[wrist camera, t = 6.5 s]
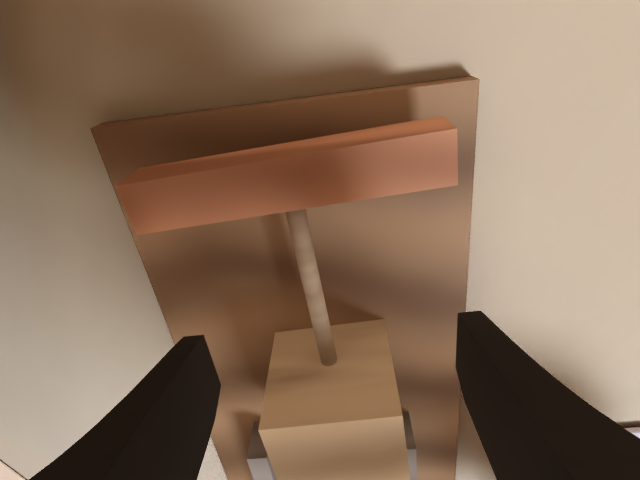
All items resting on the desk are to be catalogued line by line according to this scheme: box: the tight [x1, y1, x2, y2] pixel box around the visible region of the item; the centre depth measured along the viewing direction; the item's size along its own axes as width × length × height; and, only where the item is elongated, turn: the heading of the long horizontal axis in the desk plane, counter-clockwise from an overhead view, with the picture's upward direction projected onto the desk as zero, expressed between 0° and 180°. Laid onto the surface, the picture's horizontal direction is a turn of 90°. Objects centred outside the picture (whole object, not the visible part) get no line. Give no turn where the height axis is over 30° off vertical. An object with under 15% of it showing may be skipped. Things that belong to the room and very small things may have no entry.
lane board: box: [90, 76, 479, 480], centre depth 23 cm, size 32×16×4 cm, turn 7°
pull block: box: [115, 116, 458, 480], centre depth 18 cm, size 16×12×6 cm
